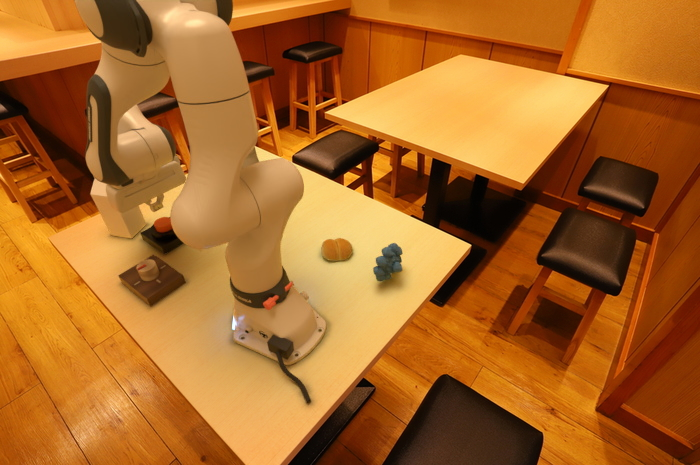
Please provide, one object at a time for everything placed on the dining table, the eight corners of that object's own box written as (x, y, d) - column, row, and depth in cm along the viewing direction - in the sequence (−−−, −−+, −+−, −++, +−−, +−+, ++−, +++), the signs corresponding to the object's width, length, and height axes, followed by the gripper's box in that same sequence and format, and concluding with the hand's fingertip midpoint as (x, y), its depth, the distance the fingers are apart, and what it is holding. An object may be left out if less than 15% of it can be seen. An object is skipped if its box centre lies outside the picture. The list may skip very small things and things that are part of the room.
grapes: (387, 299, 95) (391, 265, 87) (366, 286, 98) (368, 253, 91) (411, 273, 102) (417, 240, 94) (390, 262, 105) (394, 229, 98)
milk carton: (132, 239, 111) (107, 184, 99) (111, 235, 112) (83, 181, 100) (146, 224, 117) (124, 171, 105) (126, 221, 118) (102, 168, 106)
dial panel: (185, 282, 98) (182, 274, 96) (150, 306, 92) (146, 298, 90) (157, 262, 104) (153, 253, 102) (122, 283, 98) (117, 275, 96)
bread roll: (354, 260, 106) (354, 250, 103) (323, 263, 105) (322, 253, 102) (349, 241, 112) (350, 231, 109) (320, 244, 111) (319, 234, 108)
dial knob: (153, 266, 98) (148, 256, 96) (163, 274, 96) (158, 263, 94) (137, 276, 96) (132, 265, 93) (147, 283, 94) (141, 273, 91)
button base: (194, 236, 113) (190, 225, 110) (164, 254, 106) (159, 242, 103) (172, 223, 117) (168, 211, 115) (143, 239, 111) (137, 227, 108)
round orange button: (177, 226, 110) (175, 220, 108) (162, 234, 107) (160, 229, 105) (167, 220, 112) (165, 214, 110) (152, 228, 109) (150, 222, 107)
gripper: (169, 147, 104) (182, 189, 113) (95, 178, 91) (116, 222, 100) (183, 154, 102) (195, 196, 110) (108, 186, 89) (129, 231, 98)
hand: (157, 209), depth 105 cm, fingers closed
